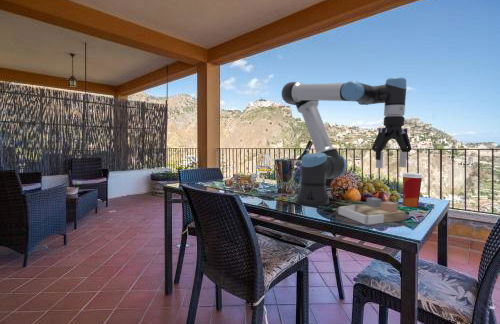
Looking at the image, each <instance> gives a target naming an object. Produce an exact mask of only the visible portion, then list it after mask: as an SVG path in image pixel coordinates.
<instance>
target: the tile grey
mask: <svg viewBox="0 0 500 324" xmlns="http://www.w3.org/2000/svg"><path fill="white" fill-rule="evenodd" d="M365 202H366V203H365V204H366V205H367V206H371V207H381V202H383V201H382V199H380V198H378V197H366V201H365Z"/></svg>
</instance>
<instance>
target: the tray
mask: <svg viewBox="0 0 500 324" xmlns="http://www.w3.org/2000/svg"><path fill="white" fill-rule="evenodd" d="M355 205H356V204H354V205H344V206H343V205H342V206H338V211H337V214H338V215H340V216H342V217H344V218H348V219H349V220H351V221H352V220H353V221H355V222H358V223H360V224H363V225H365V226H370V225H377V224H384V223H383V222H384V215H383V214H379V215H370V216H367V215H364V214H361V213H358V212H356V211H355V207H356V206H355Z"/></svg>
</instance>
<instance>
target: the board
mask: <svg viewBox="0 0 500 324" xmlns="http://www.w3.org/2000/svg"><path fill="white" fill-rule="evenodd" d="M354 205H355V206H356V207H355V211H356V212H358V213H361V214H364V215H367V216H370V215H379V214H383V215H384V222H383V223H382V224H384V223H385V224H386V223H392V222H394V223H395V222H399V221H405V220H406V218H407V217H406V216H407V214H406V211H403V210H400V209H397V211H396V212H387V211H384V210H381V207H371V206H367V205H366V203H363V204H362V203H361V204H354Z"/></svg>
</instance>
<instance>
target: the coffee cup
mask: <svg viewBox="0 0 500 324" xmlns="http://www.w3.org/2000/svg"><path fill="white" fill-rule="evenodd" d="M401 176H402V206H404V207H409V208H418V207H419V202H420V196H421V188H422V182H423V181H422V179H423V175H422V173H417V172H416V173H415V172H404V173H402V175H401Z"/></svg>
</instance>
